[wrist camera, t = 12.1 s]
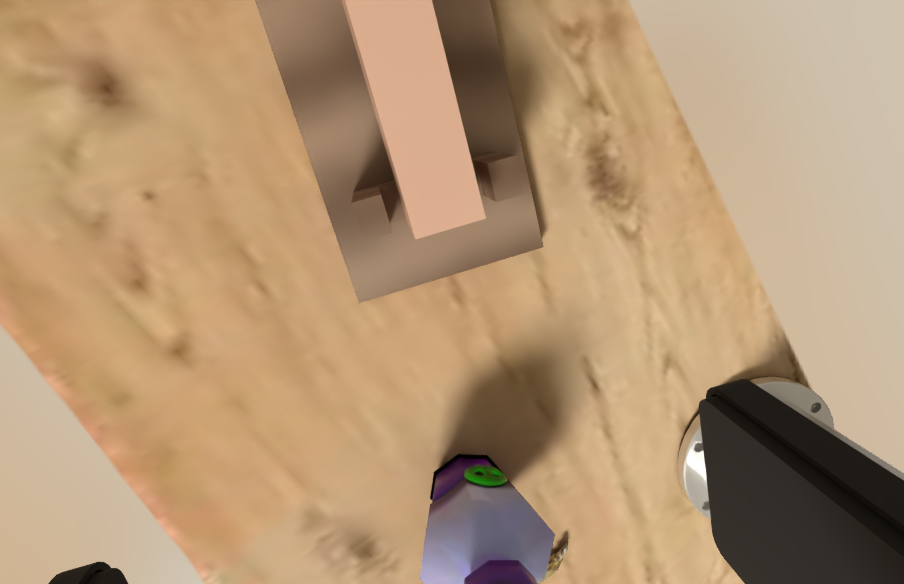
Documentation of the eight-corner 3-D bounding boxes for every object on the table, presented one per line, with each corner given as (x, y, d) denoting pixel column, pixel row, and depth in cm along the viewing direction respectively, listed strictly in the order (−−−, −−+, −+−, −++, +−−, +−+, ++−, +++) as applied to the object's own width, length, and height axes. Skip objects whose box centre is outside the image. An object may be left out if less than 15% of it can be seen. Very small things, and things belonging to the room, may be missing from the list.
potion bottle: (511, 418, 38) (573, 539, 27) (535, 514, 41) (601, 661, 30) (393, 455, 38) (406, 595, 26) (425, 550, 40) (450, 714, 29)
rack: (538, 243, 35) (572, 265, 29) (359, 298, 34) (358, 331, 28) (440, -203, 27) (460, -291, 22) (207, -147, 27) (164, -223, 21)
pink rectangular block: (467, 204, 30) (486, 218, 26) (407, 222, 30) (415, 239, 25) (382, -124, 25) (386, -182, 21) (310, -106, 25) (297, -161, 20)
